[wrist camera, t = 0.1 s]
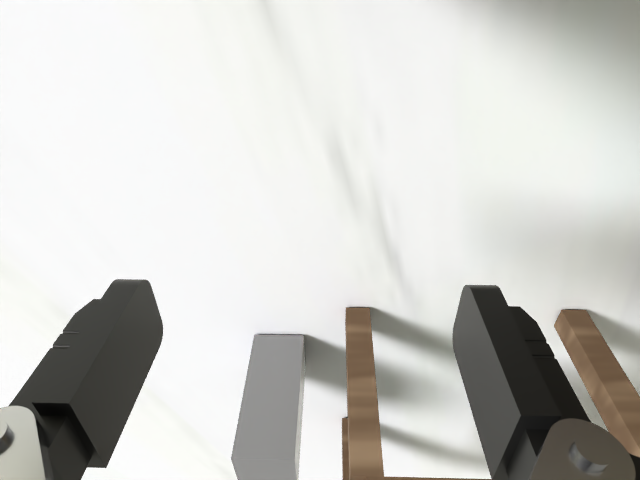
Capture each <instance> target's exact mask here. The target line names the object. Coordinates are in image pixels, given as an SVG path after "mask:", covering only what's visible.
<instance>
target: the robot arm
mask: <svg viewBox="0 0 640 480" xmlns="http://www.w3.org/2000/svg"><path fill="white" fill-rule="evenodd" d="M162 336H163V324H162V320H161V316H160V313H159V310H158V307H157V303H156V300H155V297H154V294H153V291H152V287H151V285H150V283H149V281H147V280H126V279H117V280H115V281H113V282H112V283H111V285H110V286H109V288H108V289H107V291H106V292H105V294H104V295H103V297H102V298H101V299H93V300H92V301H91V302H89V303H88V304H87V305H86V306H84V307H83V308H82V309H80V310H79V311H78V312H77V313H75V315H74V316H73V317H72V319H71V320H70V322H69V323H68V324H67V326H66V327H65V329H64V330H63V334H60V336H59V337H58V338H57V340H56V341H55V342H54V344H53V348H50V349H49V351H48V352H47V354H46V355H45V356H44V358H43V359H42V361H41V362H40V363H39V365H38V366H37V368H36V369H35V370H34V372H33V373H32V375H31V376H30V377H29V379H28V380H27V382H26V383H25V384H24V386H23V387H22V389H21V390H20V391H19V393H18V394H17V396H16V397H15V398H14V400H13V401H12V402H11V404H10V405H9V406H8V407H3V408H0V480H81V478H82V476H83V474H84V472H85V470H86V468H87V467H97V468H106V467H107V465H108V463H109V460H110V458H111V456H112V453H113V451H114V449H115V447H116V444H117V442H118V440H119V438H120V435H121V433H122V431H123V429H124V426H125V424H126V422H127V420H128V417H129V415H130V413H131V411H132V408H133V406H134V404H135V402H136V399H137V397H138V395H139V393H140V390H141V388H142V386H143V383H144V381H145V379H146V377H147V374H148V372H149V370H150V368H151V365H152V363H153V361H154V359H155V356H156V354H157V352H158V350H159V347H160V345H161V341H162ZM453 347H454V352H455V356H456V359H457V363H458V366H459V369H460V373H461V376H462V380H463V383H464V386H465V390H466V393H467V397H468V400H469V403H470V407H471V410H472V414H473V417H474V420H475V424H476V427H477V431H478V434H479V437H480V441H481V444H482V448H483V451H484V454H485V458H486V461H487V465H488V468H489V471H490V475H491V478H492V480H640V457H637V456H635V455H632V454H630V453H628V452H627V450H626V449H625V447H624V446H623V445H622V444H621V443H620V442H619V441H618V440H617V439H616V438H615V437H614V436H613V435H612V434H610V433H609V432H608V431H606V430H605V429H603V428H601V427H600V426H598V425H596V424H593V423H591V421H590V420H589V418H588V417H587V415H586V413H585V411H584V409H583V407H582V406H581V404H580V402H579V400H578V398H577V396H576V394H575V393H574V391H573V389H572V387H571V385H570V383H569V381H568V380H567V378H566V376H565V374H564V372H563V370H562V368H561V367H560V365H559V363H558V361H557V359H555V358H554V354H553V352H552V350H551V348H550V346H549V344H547V343H546V339H545V337H544V335H543V333H542V331H541V329H540V328H539V326H538V324H537V322H536V321H535V320H534V319H533V318H532V317H530V316H529V315H528V314H527V313H526V312H525V311H524V310H523V309H522V308H521V307H512V306H508V305H507V302H506V300H505V298H504V296H503V294H502V292H501V290H500V288H499V287H498V286H496V285H465V286H464V288H463V290H462V294H461V298H460V302H459V306H458V311H457V315H456V319H455V323H454V327H453Z"/></svg>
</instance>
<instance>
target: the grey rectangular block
mask: <svg viewBox="0 0 640 480" xmlns="http://www.w3.org/2000/svg"><path fill="white" fill-rule="evenodd" d="M304 381H305V348H304V335H254V339H253V345H252V350H251V355H250V361H249V366H248V371H247V377H246V382H245V387H244V393H243V398H242V403H241V409H240V414H239V419H238V425H237V430H236V435H235V441H234V446H233V451H232V457H231V460H232V463H233V466H234V469H235V472H236V475H237V479H238V480H298V474H299V458H300V443H301V427H302V412H303V396H304Z"/></svg>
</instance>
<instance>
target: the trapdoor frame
mask: <svg viewBox="0 0 640 480" xmlns="http://www.w3.org/2000/svg"><path fill="white" fill-rule="evenodd" d="M345 325H346V366H347V408H348V418H342V464H343V480H492V479H458V478H415V477H384V472H383V460H382V448H381V436H380V424H379V413H378V401H377V389H376V377H375V366H374V354H373V342H372V330H371V319H370V308H346V322H345ZM554 327H555V329H556V331H557V333H558V335H559V337H560V339H561V341H562V342H563V344H564V346H565V348H566V350H567V352H568V354H569V356H570V358H571V360H572V362H573V364H574V366H575V367H576V369H577V371H578V373H579V375H580V377H581V379H582V381H583V383H584V385H585V387H586V389H587V391H588V393H589V394H590V396H591V398H592V400H593V402H594V404H595V406H596V408H597V410H598V412H599V414H600V416H601V418H602V419H603V421H604V423H605V425H606V427H607V429H608V431H609V433H610V434H612V435H613V436H614V437H615V438H616V439H617V440H618V441H619V442H620V443H621V444H622V445H623V446H624V447H625V449H626V450H627V452H628V453H630V454H632V455H635V456H637V457H640V397H639V395H638V393H637V392H636V390H635V388H634V387H633V385H632V384H631V382H630V380H629V379H628V377H627V376H626V374H625V372H624V371H623V369H622V367H621V366H620V364H619V363H618V361H617V359H616V358H615V356H614V355H613V353H612V351H611V350H610V348H609V347H608V345H607V343H606V342H605V340H604V338H603V337H602V335H601V334H600V332H599V330H598V329H597V327H596V326H595V324H594V322H593V321H592V319H591V317H590V316H589V314H588V313H587V311H586V310H561V312H560V314H559V316H558V318H557V320H556V322H555V324H554Z"/></svg>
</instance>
